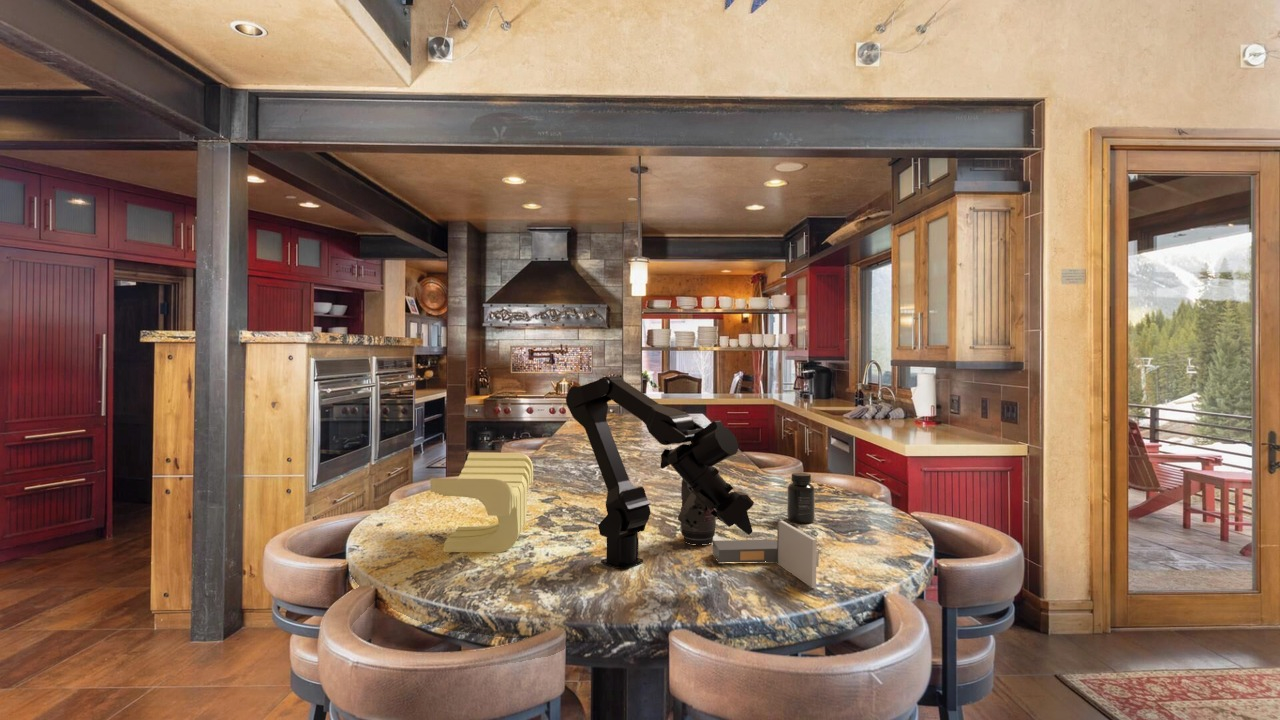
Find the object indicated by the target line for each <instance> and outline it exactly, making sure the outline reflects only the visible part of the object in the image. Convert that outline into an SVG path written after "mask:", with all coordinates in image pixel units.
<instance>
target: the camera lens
mask: <svg viewBox="0 0 1280 720" xmlns="http://www.w3.org/2000/svg"><path fill="white" fill-rule="evenodd" d="M687 487H688V486H687V483H686V482H685V481H684V480H683V479H682V480H681V488H680V489H681V490H680V491H681V494H680V495H681V507H680V511H681V510H682V508H683V506H684V504H685V502H686V500H687V498H688V497H689V495H690V494H691V492H690V490H689V489H688V488H687ZM712 511H713V510H712ZM712 511H710V510H709V509H708V508H707V512H706V514H705V516H704V518H703V520H702V522H701V526H700V528H699V529H698V530H697V531H696V530H694V529H692V528H690V527H688V526H686V525H684V524H682V523H681V522H680V528H681V535H682V536H683V542H684V541H685V542H687V543H690V544H696V545H702V544H709V543H712V544H713V541H714V536H715V535H716V524H717V523H716V522H717V517H715V516H713V515H712V514H711V512H712ZM685 542H684V543H685Z"/></svg>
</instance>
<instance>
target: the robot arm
mask: <svg viewBox="0 0 1280 720" xmlns="http://www.w3.org/2000/svg"><path fill="white" fill-rule="evenodd" d="M611 401H613V402H615V403H616V404H617V405H619V406H620V407H621V408H623V409H624V410H625V411H627V412H629V413H630V414H632V415H633V416H634V417H635V418H637V419H639V420H640V421H641V422H643V424H644V425H645V426H646V428H647V431H648V433H649V434H650V435H651V436H652V437H653V438H654V439H655V440H656V441H657V442H658V443H659V444H661V445H663V446H669V445H675V444H678V445H679V444H680V445H679V446H677V447H675V448H673V449H667V448H664V450H663V451H662V452H661V454H660V458H661V459H660V469H665V468H667V467H669V466H671V467H672V468H673V470H674V471H676V473H677V474H678V475H679V476H680V477H681V479H682V480H684V481H685V482H686V483H687V486H688V487H687V488H688V489H689V490H690V492H691V494H690V495H689V497H688V498H687V500H686V502H685V504H684V506H683V508H682V510H681V509H680V511H679V514H678V516H677V520H678V522H680V524H681V523H682V524H684V525H686V526H688V527H690V528H692V529H694V530H696V531H697V530H698V529H699V528H700V526H701V522H702V520H703V518H704V516H705V514H706V512H707V508H708V509H709V510H710V511H712V510H713V511H712V512H711V514H712V515H713V516H715V518H716V520H717V519H718V520H719V521H720V522H722V523H723V524H724V525H726V526H728V527H732V526H733V525H735V526H736V527H737V528H739V529H740V530H741V531H742V532H744V533H745V534H747V535H748V536H749V535H751V534H752V533H753V531H754V530H753V527H752V523H751V520H750V517H749V514H748V511H749V510H750V509H751V508H752V507H753V506H754V504H755V502H754V500H753V499H752V498H751V497H750V496H749V494H747V493H744V492H743V491H739V490H738V491H737V490H736V491H733V489H734V487H733V486H732V485H731V484H730V483H728V482H726V480H725V479H724V478H723V476H721V474H720V471H719V470H718V468H717V467H714V466H715V465H718V464H719V463H721V462H723V461H725V460H726V459H729V458H731V457H732V456H735V455H736V454H737V453H738V451H739V442H738V440H737V437H736V435H735V434H733V433H732V431H731V430H730V429H729V428H728V427H726V426H724V425H723V422H722V421H721V420H714V421H711V422H710V423H708V425H707V426H705V427H702V425H700V424H698V423H696V421H694V419H693V417H692V416H691V415H690V414H689V413H687V412H685V411H683V410H680V409H677V408H675V407H672V406H671V407H670V406H666V405H663V404H660V403H659V402H657V401H655V400H654V399H653V398H651V397H649V396H648V395H646V394H645V393H643V392H642V391H640V390H639V389H637V388H636V387H634V386H632V385H631V384H629V383H628V382H627V381H625V379H624V378H623V377H620V376H619V375H615V376H613V375H611V376H609V375H607V376H603V377H601V378H599V379H596V380H595V381H592V382H590V383H589V382H588V383H584V384H583V385H574V386H573V385H572V386H571V387H570V388H569V390H568V392H567V393H566V396H565V403H566V404H565V405H566V406H567V409H568V411H569V412H570V414H571V416H572V417H573V419H574V420H575V421H576V422H577V423H578V424H580V426H581V427H583V429H584V430H585V433H586V436H587V438H588V441H589V444H590V446H591V449H592V452H593V454H594V457H595V460H596V462H597V464H598V465H597V466H598V468H599V471H600V474H601V476H602V479H603V482H604V484H605V487H606V489H607V490H606V491H607V493H606V501H605V508H606V513H607V515H606V516H605V517H603V519H602V520H601V521H600V523H598V526H597V527H598V531H599V532H598V533H599V535H600V536H601V537H605V538H606V558H603V559H601V560H600V563H601V564H603V565H606V566H609V567H613V568H616V569H618V570H623V571H624V570H627V569H630V568H632V567H635V566H637V565H640V564H642V563H644V559H643V558H641V557H639V533H641V532H644V531H645V530H646V525H647V524H648V521H649V519H650V515H651V508H650V505H651V502H650V501H649V499H648V497H647V494H646V491H645V488H644V487H643V485H640V486H635V485H634V483H632V482H631V481H630V478H629V475H628V473H627V470H626V468H625V466H624V462H623V460H622V457H621V455H620V452H619V450H618V447H617V445H616V442H615V439H614V435H613V433H612V431H611V429H610V427H609V424H608V420H607V417H608V410H609V404H608V402H611ZM689 442H690V443H689ZM686 443H689V444H686ZM641 562H642V563H641ZM639 563H640V564H639ZM636 564H637V565H636Z"/></svg>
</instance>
